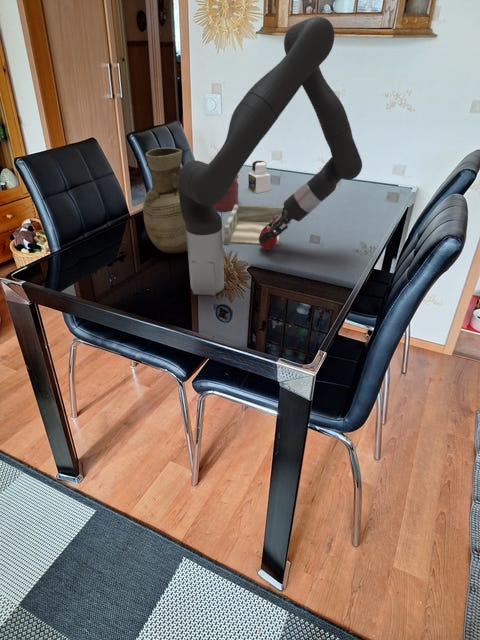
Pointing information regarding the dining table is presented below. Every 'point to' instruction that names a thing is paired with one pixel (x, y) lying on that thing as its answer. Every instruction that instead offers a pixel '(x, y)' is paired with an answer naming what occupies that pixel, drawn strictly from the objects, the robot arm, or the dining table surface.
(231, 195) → the canister
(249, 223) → the tray
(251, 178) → the medicine bottle
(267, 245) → the pomegranate
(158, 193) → the ceramic vessel
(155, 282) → the dining table surface
